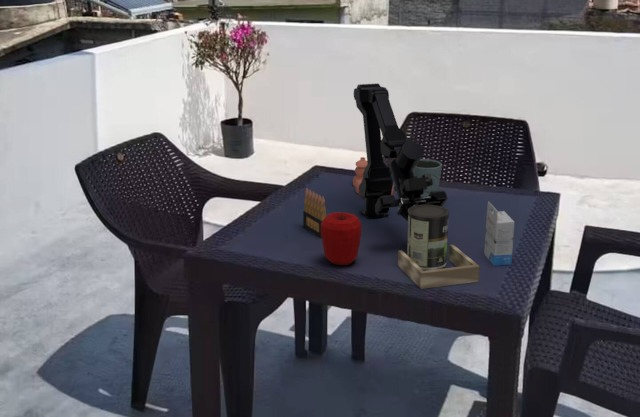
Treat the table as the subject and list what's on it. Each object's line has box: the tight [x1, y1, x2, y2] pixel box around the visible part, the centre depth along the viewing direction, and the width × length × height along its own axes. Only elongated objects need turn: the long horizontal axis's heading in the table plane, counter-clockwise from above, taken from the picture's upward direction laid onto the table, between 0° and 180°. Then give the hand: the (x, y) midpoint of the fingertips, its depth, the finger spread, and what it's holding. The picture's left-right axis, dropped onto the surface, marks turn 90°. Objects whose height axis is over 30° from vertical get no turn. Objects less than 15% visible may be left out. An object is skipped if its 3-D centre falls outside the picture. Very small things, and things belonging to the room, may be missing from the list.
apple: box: [321, 211, 362, 266], centre depth 200 cm, size 10×10×14 cm
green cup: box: [413, 158, 443, 197], centre depth 249 cm, size 10×10×12 cm
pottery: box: [352, 156, 395, 200], centre depth 259 cm, size 18×10×10 cm, turn 19°
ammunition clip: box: [302, 187, 327, 239], centre depth 222 cm, size 11×2×12 cm, turn 30°
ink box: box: [483, 200, 516, 267], centre depth 201 cm, size 9×5×15 cm, turn 5°
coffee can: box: [406, 205, 450, 271], centre depth 200 cm, size 10×10×14 cm
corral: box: [397, 244, 481, 290], centre depth 195 cm, size 15×15×4 cm
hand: (419, 231), depth 204 cm, fingers closed, pressing on coffee can
